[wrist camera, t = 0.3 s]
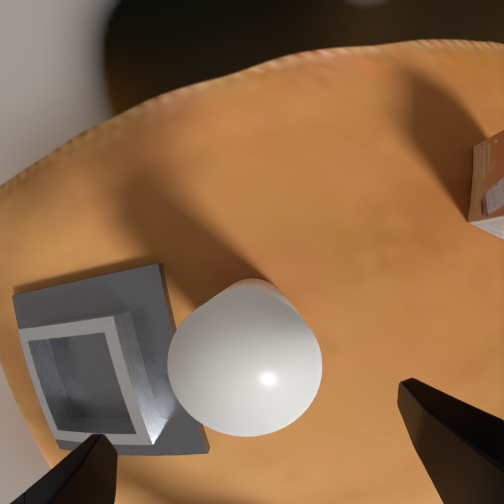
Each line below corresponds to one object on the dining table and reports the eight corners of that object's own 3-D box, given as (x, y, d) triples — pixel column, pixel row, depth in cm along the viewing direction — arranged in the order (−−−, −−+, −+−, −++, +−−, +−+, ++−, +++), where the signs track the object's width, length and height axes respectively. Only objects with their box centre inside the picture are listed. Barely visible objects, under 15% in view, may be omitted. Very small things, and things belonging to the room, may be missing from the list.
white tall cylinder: (267, 362, 23) (275, 455, 10) (203, 329, 23) (145, 394, 10) (302, 299, 23) (350, 337, 10) (236, 265, 23) (208, 265, 10)
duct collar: (209, 447, 22) (202, 473, 18) (64, 444, 23) (45, 461, 19) (162, 263, 23) (143, 263, 19) (18, 294, 23) (-9, 297, 19)
